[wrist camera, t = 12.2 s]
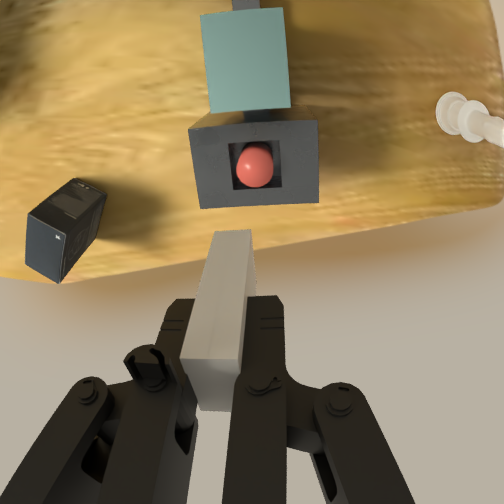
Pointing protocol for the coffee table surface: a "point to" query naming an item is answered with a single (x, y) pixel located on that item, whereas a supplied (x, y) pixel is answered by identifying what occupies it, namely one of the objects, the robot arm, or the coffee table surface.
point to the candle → (468, 119)
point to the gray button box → (248, 131)
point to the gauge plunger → (255, 165)
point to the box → (63, 228)
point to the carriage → (246, 59)
